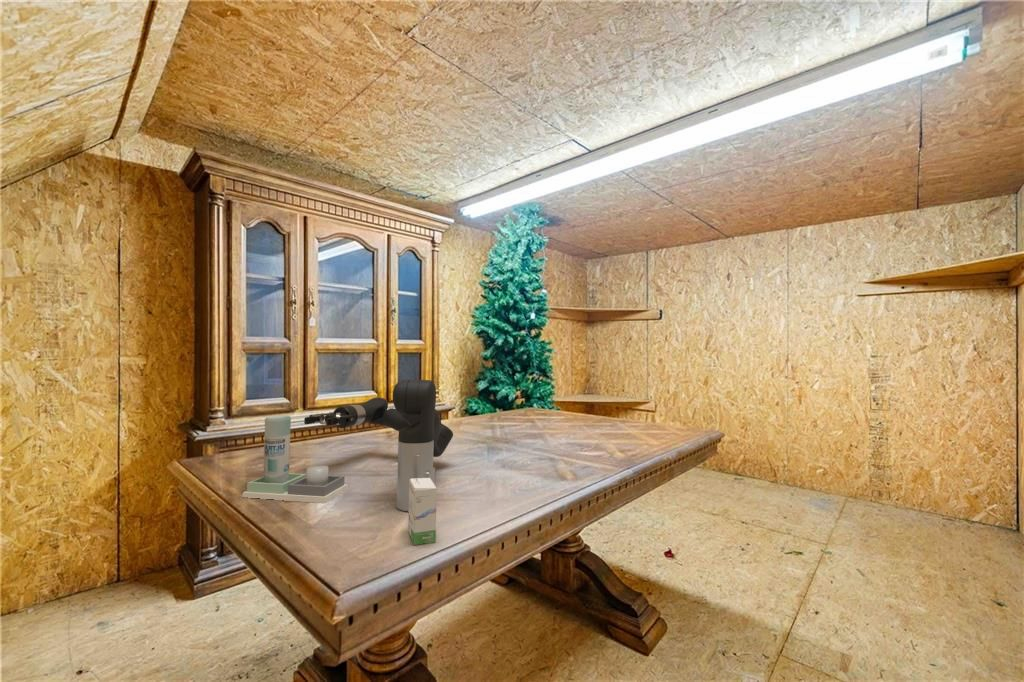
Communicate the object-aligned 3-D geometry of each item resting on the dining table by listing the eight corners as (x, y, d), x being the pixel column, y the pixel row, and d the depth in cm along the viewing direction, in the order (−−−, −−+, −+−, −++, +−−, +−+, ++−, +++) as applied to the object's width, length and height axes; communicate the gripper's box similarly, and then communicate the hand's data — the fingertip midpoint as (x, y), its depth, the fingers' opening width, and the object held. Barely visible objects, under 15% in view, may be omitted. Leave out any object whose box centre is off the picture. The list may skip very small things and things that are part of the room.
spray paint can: (291, 483, 126) (293, 415, 127) (284, 490, 120) (286, 418, 121) (267, 484, 125) (269, 415, 126) (259, 491, 118) (261, 418, 119)
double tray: (347, 489, 127) (348, 463, 127) (325, 503, 115) (326, 474, 115) (272, 485, 129) (273, 459, 130) (242, 498, 118) (243, 470, 118)
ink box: (436, 542, 92) (437, 486, 92) (412, 546, 90) (414, 489, 90) (429, 527, 100) (430, 476, 100) (407, 530, 98) (408, 478, 98)
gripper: (366, 427, 150) (334, 434, 135) (332, 425, 154) (297, 432, 139) (366, 405, 151) (334, 410, 135) (333, 404, 155) (298, 408, 139)
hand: (316, 421), depth 137 cm, fingers open, 8 cm apart
